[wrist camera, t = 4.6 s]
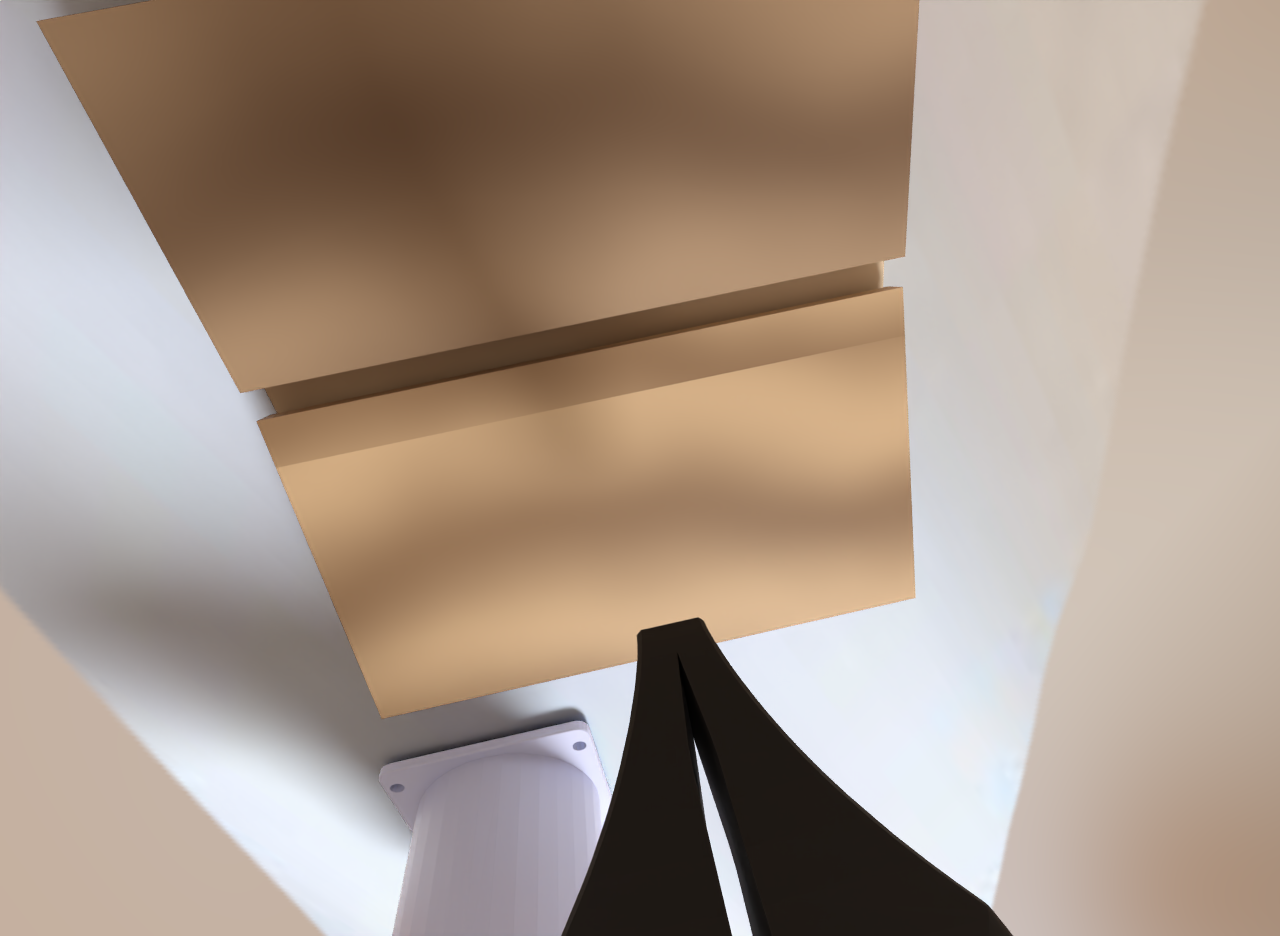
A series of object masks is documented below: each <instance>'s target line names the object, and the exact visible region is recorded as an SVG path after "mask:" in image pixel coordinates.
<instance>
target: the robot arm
mask: <svg viewBox="0 0 1280 936" xmlns="http://www.w3.org/2000/svg"><path fill="white" fill-rule="evenodd" d="M693 737H694V738H693ZM694 740H695V743H696V746H697V750H698V753H699V756H700V759H701V762H702V765H703V768H704V771H705V774H706V777H707V780H708V783H709V786H710V789H711V792H712V795H713V798H714V801H715V804H716V807H717V810H718V813H719V816H720V819H721V822H722V825H723V828H724V831H725V834H726V837H727V840H728V843H729V846H730V849H731V853H732V856H733V860H734V863H735V866H736V870H737V874H738V878H739V882H740V886H741V890H742V894H743V898H744V902H745V906H746V910H747V914H748V918H749V922H750V926H751V930H752V934H753V936H1013V935H1012V934H1011V933H1010V931H1009V930H1008V929H1007V928H1006V926H1005V925H1004V924H1003V923H1002V921H1001V920H1000V919H999V918H998V916H997V915H996V914H995V913H994V911H993V910H992V909H991V908H990V907H989V906H988V905H987V904H986V903H985V902H984V901H982V900H981V899H979V898H978V897H977V896H975V895H974V894H972V893H971V892H970V891H968V890H967V889H965V888H964V887H962V886H961V885H960V884H958V883H957V882H955V881H954V880H953V879H951V878H950V877H949V876H947V875H946V874H945V873H943V872H942V871H941V870H939V869H938V868H937V867H935V866H934V865H932V864H931V863H930V862H928V861H927V860H926V859H925V858H923V857H922V856H921V855H919V854H918V853H917V852H916V851H914V850H913V849H912V848H911V847H909V846H908V845H907V844H905V843H904V842H903V841H902V840H900V839H899V838H898V837H897V836H895V835H894V834H893V833H892V832H890V831H889V830H888V829H887V828H886V827H885V826H883V825H882V824H881V823H880V822H879V821H878V820H876V819H875V818H874V817H873V816H872V815H871V814H869V813H868V812H867V811H866V810H865V809H864V808H862V807H861V806H860V805H859V804H858V803H857V802H855V801H854V800H853V799H852V798H851V797H850V796H848V795H847V794H846V793H845V792H844V791H843V790H842V789H841V788H840V787H839V786H838V785H837V784H835V783H834V782H833V781H832V780H831V779H830V778H829V777H828V776H827V775H826V774H825V773H824V772H823V771H822V770H821V769H820V768H819V767H818V766H817V765H816V764H815V763H814V762H813V761H812V760H811V759H810V758H809V757H808V756H807V755H806V754H805V753H804V752H803V751H802V750H801V749H800V748H799V747H798V746H797V745H796V744H795V743H794V742H793V741H792V740H791V738H790V737H789V736H788V735H787V734H786V733H785V732H784V731H783V730H782V729H781V727H780V726H779V725H778V724H777V723H776V722H775V721H774V719H773V718H772V717H771V716H770V715H769V714H768V713H767V711H766V710H765V709H764V708H763V707H762V705H761V704H760V703H759V702H758V701H757V699H756V698H755V697H754V695H753V694H752V693H751V692H750V690H749V689H748V688H747V686H746V685H745V684H744V683H743V681H742V680H741V679H740V677H739V676H738V675H737V673H736V672H735V671H734V669H733V668H732V666H731V665H730V663H729V662H728V661H727V659H726V658H725V656H724V655H723V653H722V652H721V650H720V649H719V647H718V645H717V644H716V642H715V641H714V639H713V637H712V635H711V634H710V632H709V630H708V628H707V626H706V624H705V622H704V620H702V619H700V618H699V617H697V618H692V619H688V620H683V621H679V622H674V623H670V624H665V625H661V626H656V627H652V628H648V629H643V630H641V631H640V632H639V633H638V634H637V672H636V682H635V691H634V697H633V704H632V710H631V717H630V723H629V728H628V733H627V737H626V742H625V747H624V751H623V756H622V760H621V765H620V769H619V773H618V777H617V780H616V784H615V788H614V791H613V795H611V792H610V789H609V786H608V783H607V780H606V777H605V774H604V771H603V768H602V765H601V762H600V759H599V756H598V752H597V749H596V746H595V743H594V740H593V737H592V734H591V731H590V728H589V726H588V725H587V724H586V723H585V722H583V721H572V722H568V723H563V724H559V725H555V726H550V727H546V728H541V729H537V730H533V731H528V732H524V733H520V734H515V735H511V736H507V737H502V738H498V739H494V740H489V741H485V742H481V743H476V744H472V745H468V746H463V747H459V748H454V749H450V750H446V751H441V752H437V753H433V754H428V755H424V756H420V757H415V758H411V759H407V760H402V761H398V762H394V763H390V764H387V765H385V766H383V767H382V768H381V771H380V774H379V778H378V780H379V783H380V784H381V786H382V787H383V789H384V790H385V792H386V793H387V795H388V796H389V798H390V799H391V801H392V802H393V804H394V806H395V807H396V809H397V810H398V812H399V813H400V815H401V816H402V818H403V819H404V821H405V822H406V824H407V825H408V827H409V828H410V830H411V831H412V833H413V834H412V839H411V844H410V849H409V854H408V859H407V864H406V869H405V874H404V879H403V884H402V889H401V894H400V899H399V904H398V909H397V914H396V919H395V924H394V929H393V934H392V936H732V934H731V929H730V925H729V921H728V917H727V913H726V908H725V904H724V900H723V896H722V891H721V887H720V883H719V879H718V874H717V870H716V866H715V862H714V857H713V853H712V849H711V844H710V840H709V836H708V832H707V827H706V821H705V814H704V807H703V800H702V793H701V786H700V779H699V772H698V765H697V758H696V751H695V745H694Z"/></svg>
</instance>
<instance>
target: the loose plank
mask: <svg viewBox="0 0 1280 936" xmlns="http://www.w3.org/2000/svg"><path fill="white" fill-rule="evenodd" d="M257 424H258V426H259V428H260V431H261V433H262V436H263V438H264V440H265V443H266V445H267V447H268V450H269V452H270V455H271V457H272V459H273V462H274V464H275V466H276V469H277V471H278V474H279V476H280V478H281V481H282V483H283V485H284V488H285V490H286V493H287V495H288V497H289V500H290V502H291V504H292V507H293V509H294V512H295V514H296V516H297V519H298V521H299V524H300V526H301V528H302V531H303V533H304V535H305V538H306V540H307V543H308V545H309V547H310V550H311V552H312V554H313V557H314V559H315V562H316V564H317V566H318V569H319V571H320V573H321V576H322V578H323V581H324V583H325V585H326V588H327V590H328V592H329V595H330V597H331V600H332V602H333V604H334V607H335V609H336V612H337V614H338V616H339V619H340V621H341V623H342V626H343V628H344V631H345V633H346V635H347V638H348V640H349V642H350V645H351V647H352V650H353V652H354V654H355V657H356V659H357V661H358V664H359V666H360V669H361V671H362V673H363V676H364V678H365V680H366V683H367V685H368V688H369V690H370V692H371V695H372V697H373V699H374V702H375V704H376V707H377V709H378V711H379V714H380V716H381V719H384V718H388V717H393V716H397V715H401V714H406V713H410V712H415V711H419V710H423V709H428V708H432V707H437V706H441V705H445V704H450V703H454V702H459V701H463V700H467V699H472V698H476V697H481V696H485V695H490V694H494V693H498V692H503V691H507V690H512V689H516V688H520V687H525V686H529V685H534V684H538V683H542V682H547V681H551V680H556V679H560V678H564V677H569V676H573V675H578V674H582V673H586V672H591V671H595V670H600V669H604V668H608V667H613V666H617V665H622V664H626V663H630V662H635V661H637V634H638V633H639V632H640V631H641V630H643V629H648V628H652V627H656V626H661V625H665V624H670V623H674V622H679V621H683V620H688V619H692V618H697V617H699V618H700V619H702V620H704V622H705V624H706V626H707V628H708V630H709V632H710V634H711V635H712V637H713V639H714V641H715V642H716V643H719V642H723V641H727V640H732V639H736V638H741V637H745V636H749V635H754V634H758V633H763V632H767V631H771V630H776V629H780V628H785V627H789V626H793V625H798V624H802V623H807V622H811V621H815V620H820V619H824V618H829V617H833V616H838V615H842V614H846V613H851V612H855V611H860V610H864V609H868V608H873V607H877V606H882V605H886V604H890V603H895V602H899V601H904V600H908V599H912V598H915V575H914V551H913V527H912V502H911V478H910V453H909V429H908V404H907V380H906V355H905V331H904V306H903V287H884V288H879V289H875V290H870V291H865V292H860V293H855V294H850V295H846V296H841V297H836V298H831V299H826V300H821V301H817V302H812V303H807V304H802V305H797V306H793V307H788V308H783V309H778V310H773V311H768V312H764V313H759V314H754V315H749V316H744V317H739V318H735V319H730V320H725V321H720V322H715V323H711V324H706V325H701V326H696V327H691V328H686V329H682V330H677V331H672V332H667V333H662V334H657V335H653V336H648V337H643V338H638V339H633V340H629V341H624V342H619V343H614V344H609V345H604V346H600V347H595V348H590V349H585V350H580V351H575V352H571V353H566V354H561V355H556V356H551V357H547V358H542V359H537V360H532V361H527V362H522V363H518V364H513V365H508V366H503V367H498V368H493V369H489V370H484V371H479V372H474V373H469V374H465V375H460V376H455V377H450V378H445V379H440V380H436V381H431V382H426V383H421V384H416V385H411V386H407V387H402V388H397V389H392V390H387V391H383V392H378V393H373V394H368V395H363V396H358V397H354V398H349V399H344V400H339V401H334V402H329V403H325V404H320V405H315V406H310V407H305V408H301V409H296V410H291V411H286V412H281V413H276V414H272V415H269V416H267V417H265V418H263V419H260V420H258V421H257Z"/></svg>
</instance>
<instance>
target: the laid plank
mask: <svg viewBox="0 0 1280 936" xmlns="http://www.w3.org/2000/svg"><path fill="white" fill-rule="evenodd" d="M918 13H919V0H150V1H145V2H139V3H134V4H128V5H123V6H117V7H112V8H106V9H101V10H95V11H90V12H84V13H79V14H73V15H68V16H62V17H57V18H51V19H46V20H40V21H37V23H38V25H39V27H40V29H41V31H42V32H43V34H44V36H45V38H46V40H47V41H48V43H49V45H50V47H51V49H52V51H53V52H54V54H55V56H56V58H57V60H58V62H59V63H60V65H61V67H62V69H63V71H64V72H65V74H66V76H67V78H68V80H69V82H70V83H71V85H72V87H73V89H74V91H75V93H76V94H77V96H78V98H79V100H80V102H81V103H82V105H83V107H84V109H85V111H86V113H87V114H88V116H89V118H90V120H91V122H92V124H93V125H94V127H95V129H96V131H97V133H98V134H99V136H100V138H101V140H102V142H103V144H104V145H105V147H106V149H107V151H108V153H109V155H110V156H111V158H112V160H113V162H114V164H115V165H116V167H117V169H118V171H119V173H120V175H121V176H122V178H123V180H124V182H125V184H126V186H127V187H128V189H129V191H130V193H131V195H132V196H133V198H134V200H135V202H136V204H137V206H138V207H139V209H140V211H141V213H142V215H143V216H144V218H145V220H146V222H147V224H148V226H149V227H150V229H151V231H152V233H153V235H154V237H155V238H156V240H157V242H158V244H159V246H160V247H161V249H162V251H163V253H164V255H165V257H166V258H167V260H168V262H169V264H170V266H171V268H172V269H173V271H174V273H175V275H176V277H177V278H178V280H179V282H180V284H181V286H182V288H183V289H184V291H185V293H186V295H187V297H188V299H189V300H190V302H191V304H192V306H193V308H194V309H195V311H196V313H197V315H198V317H199V319H200V320H201V322H202V324H203V326H204V328H205V330H206V331H207V333H208V335H209V337H210V339H211V340H212V342H213V344H214V346H215V348H216V350H217V351H218V353H219V355H220V357H221V359H222V360H223V362H224V364H225V366H226V368H227V370H228V371H229V373H230V375H231V377H232V379H233V381H234V382H235V384H236V386H237V388H238V390H239V391H240V393H243V392H248V391H253V390H258V389H263V388H264V389H265V391H266V393H267V395H268V396H269V398H270V400H271V402H272V404H273V406H274V408H275V410H276V412H277V413H281V412H286V411H291V410H296V409H301V408H305V407H310V406H315V405H320V404H325V403H329V402H334V401H339V400H344V399H349V398H354V397H358V396H363V395H368V394H373V393H378V392H383V391H387V390H392V389H397V388H402V387H407V386H411V385H416V384H421V383H426V382H431V381H436V380H440V379H445V378H450V377H455V376H460V375H465V374H469V373H474V372H479V371H484V370H489V369H493V368H498V367H503V366H508V365H513V364H518V363H522V362H527V361H532V360H537V359H542V358H547V357H551V356H556V355H561V354H566V353H571V352H575V351H580V350H585V349H590V348H595V347H600V346H604V345H609V344H614V343H619V342H624V341H629V340H633V339H638V338H643V337H648V336H653V335H657V334H662V333H667V332H672V331H677V330H682V329H686V328H691V327H696V326H701V325H706V324H711V323H715V322H720V321H725V320H730V319H735V318H739V317H744V316H749V315H754V314H759V313H764V312H768V311H773V310H778V309H783V308H788V307H793V306H797V305H802V304H807V303H812V302H817V301H821V300H826V299H831V298H836V297H841V296H846V295H850V294H855V293H860V292H865V291H870V290H875V289H879V288H883V273H884V261H885V260H890V259H895V258H900V257H905V247H906V229H907V211H908V193H909V175H910V157H911V139H912V121H913V103H914V85H915V67H916V49H917V31H918Z"/></svg>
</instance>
